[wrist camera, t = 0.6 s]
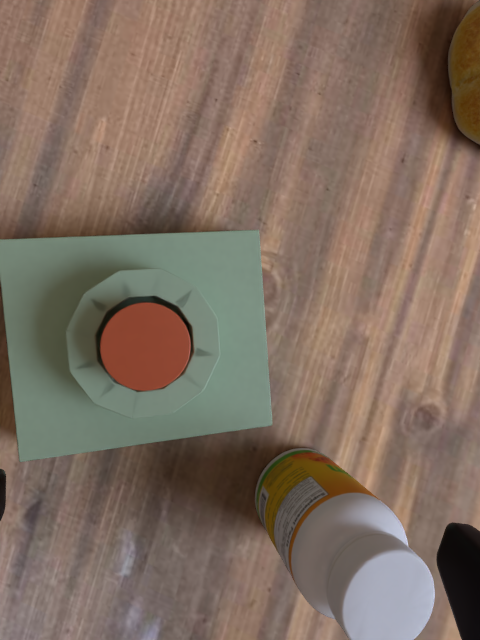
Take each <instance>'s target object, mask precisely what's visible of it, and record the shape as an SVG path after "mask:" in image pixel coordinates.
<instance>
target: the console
mask: <svg viewBox="0 0 480 640" xmlns="http://www.w3.org/2000/svg"><path fill="white" fill-rule="evenodd" d="M0 282H1V292H2V301H3V311H4V320H5V330H6V339H7V349H8V358H9V368H10V377H11V387H12V396H13V406H14V415H15V425H16V434H17V443H18V453H19V461H20V462H24V461H31V460H37V459H44V458H51V457H58V456H65V455H72V454H79V453H86V452H92V451H99V450H106V449H113V448H120V447H127V446H134V445H140V444H147V443H154V442H161V441H168V440H175V439H182V438H189V437H195V436H202V435H209V434H216V433H223V432H230V431H237V430H243V429H250V428H257V427H264V426H271V425H272V412H271V398H270V383H269V369H268V354H267V340H266V325H265V310H264V296H263V281H262V267H261V252H260V238H259V230H238V231H211V232H185V233H158V234H132V235H105V236H79V237H52V238H26V239H0ZM141 302H149V303H156V304H160V305H163V306H165V307H167V308H169V309H171V310H172V311H173V312H175V313H176V314H177V315H178V316H179V317H180V318H181V319H182V321H183V322H184V324H185V325H186V327H187V330H188V332H189V336H190V341H191V350H190V356H189V360H188V362H187V365H186V366H185V368H184V370H183V371H182V373H181V374H180V375H179V376H178V377H177V378H176V379H175V380H174V381H173V382H171V383H170V384H168V385H166V386H164V387H162V388H159V389H156V390H150V391H140V390H134V389H131V388H128V387H125V386H123V385H121V384H120V383H118V382H117V381H116V380H115V379H114V378H112V376H111V375H110V374H109V373H108V371H107V370H106V368H105V366H104V364H103V362H102V359H101V354H100V340H101V336H102V333H103V330H104V328H105V326H106V324H107V323H108V321H109V320H110V319H111V318H112V317H113V316H114V315H115V314H116V313H117V312H118V311H120V310H121V309H123V308H125V307H127V306H129V305H132V304H135V303H141Z"/></svg>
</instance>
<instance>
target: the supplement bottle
mask: <svg viewBox="0 0 480 640" xmlns="http://www.w3.org/2000/svg"><path fill="white" fill-rule="evenodd" d="M255 505H256V510H257V513H258V516H259V518H260V520H261V523H262V524H263V526H264V528H265V530H266V532H267V533H268V535H269V537H270V539H271V541H272V542H273V544H274V546H275V548H276V549H277V551H278V553H279V555H280V557H281V558H282V560H283V562H284V564H285V566H286V567H287V569H288V571H289V573H290V574H291V576H292V578H293V580H294V582H295V584H296V585H297V587H298V589H299V590H300V592H301V593H302V595H303V596H304V598H305V599H306V600H307V602H308V603H309V604H310V605H311V606H312V607H313V608H314V609H316V610H317V611H318V612H320V613H321V614H323V615H325V616H327V617H330V618H333V619H336V621H337V622H338V623H339V625H340V626H341V628H342V629H343V630H344V632H345V634H346V635H347V637H348V638H349V639H350V640H414V639H415V638H416V637H417V636H418V635H419V633H420V632H421V631H422V630H423V628H424V627H425V625H426V623H427V622H428V620H429V617H430V615H431V612H432V609H433V605H434V597H435V590H434V582H433V578H432V575H431V573H430V571H429V569H428V567H427V566H426V564H425V563H424V562H423V560H422V559H421V558H420V557H419V556H418V555H417V554H416V553H415V552H414V551H413V550H412V549H410V548H409V547H408V542H407V537H406V534H405V531H404V529H403V526H402V524H401V523H400V521H399V519H398V518H397V516H396V515H395V514H394V513H393V512H392V511H391V509H389V508H388V507H387V506H386V505H385V504H384V503H383V502H382V501H380V500H379V499H378V498H377V497H376V496H374V495H373V494H372V493H371V492H369V491H368V490H367V489H366V488H365V487H363V486H362V485H361V484H360V483H359V482H358V481H356V480H355V479H354V478H353V477H351V476H350V475H349V474H348V473H347V472H345V471H344V470H343V469H342V468H340V467H339V466H338V465H337V464H335V463H334V462H333V461H332V460H331V459H329V458H328V457H327V456H325V455H324V454H322V453H320V452H318V451H315V450H312V449H307V448H297V449H292V450H288V451H286V452H284V453H281V454H280V455H278V456H277V457H275V458H274V459H273V460H272V461H271V462H270V463H269V464H268V465H267V466H266V467H265V469H264V470H263V472H262V473H261V475H260V477H259V480H258V483H257V486H256V491H255Z"/></svg>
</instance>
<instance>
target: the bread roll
mask: <svg viewBox="0 0 480 640" xmlns="http://www.w3.org/2000/svg"><path fill="white" fill-rule="evenodd" d="M448 73H449V79H450V87H451V89H452V110H453V115H454V119H455V122H456V124H457V126H458V129H459V130H460V131H461V132H462V133H463V134H464V135H465V136H466V137H468V138H469V139H471V140H472V141H474V142H476V143H477V144H479V145H480V0H479V1H478V2H476V3H475V4H474V5H473V6H472V7H471V8H470V9H469V10H468V11H467V13H466V15H465V17H464V18H463V20H462V21H461V23H460V24H459V26H458V27H457V29H456V31H455V33H454V36H453V38H452V42H451V45H450V48H449V53H448Z"/></svg>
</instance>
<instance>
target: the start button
mask: <svg viewBox="0 0 480 640" xmlns="http://www.w3.org/2000/svg"><path fill="white" fill-rule="evenodd" d="M190 350H191V341H190V336H189V332H188V330H187V327H186V325H185V324H184V322H183V321H182V319H181V318H180V317H179V316H178V315H177V314H176V313H175V312H173V311H172V310H171V309H169V308H167V307H165V306H163V305H160V304H156V303H149V302H141V303H135V304H132V305H129V306H127V307H125V308H123V309H121V310H120V311H118V312H117V313H116V314H115V315H114V316H113V317H112V318H111V319H110V320H109V321H108V323H107V324H106V326H105V328H104V330H103V333H102V336H101V340H100V354H101V359H102V362H103V364H104V366H105V368H106V370H107V371H108V373H109V374H110V375H111V376H112V378H114V379H115V380H116V381H117V382H118V383H120V384H121V385H123V386H125V387H128V388H131V389H134V390H140V391H150V390H156V389H159V388H162V387H164V386H166V385H168V384H170V383H171V382H173V381H174V380H175V379H176V378H177V377H178V376H179V375H180V374H181V373H182V371H183V370H184V368H185V366H186V365H187V362H188V360H189V356H190Z"/></svg>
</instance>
